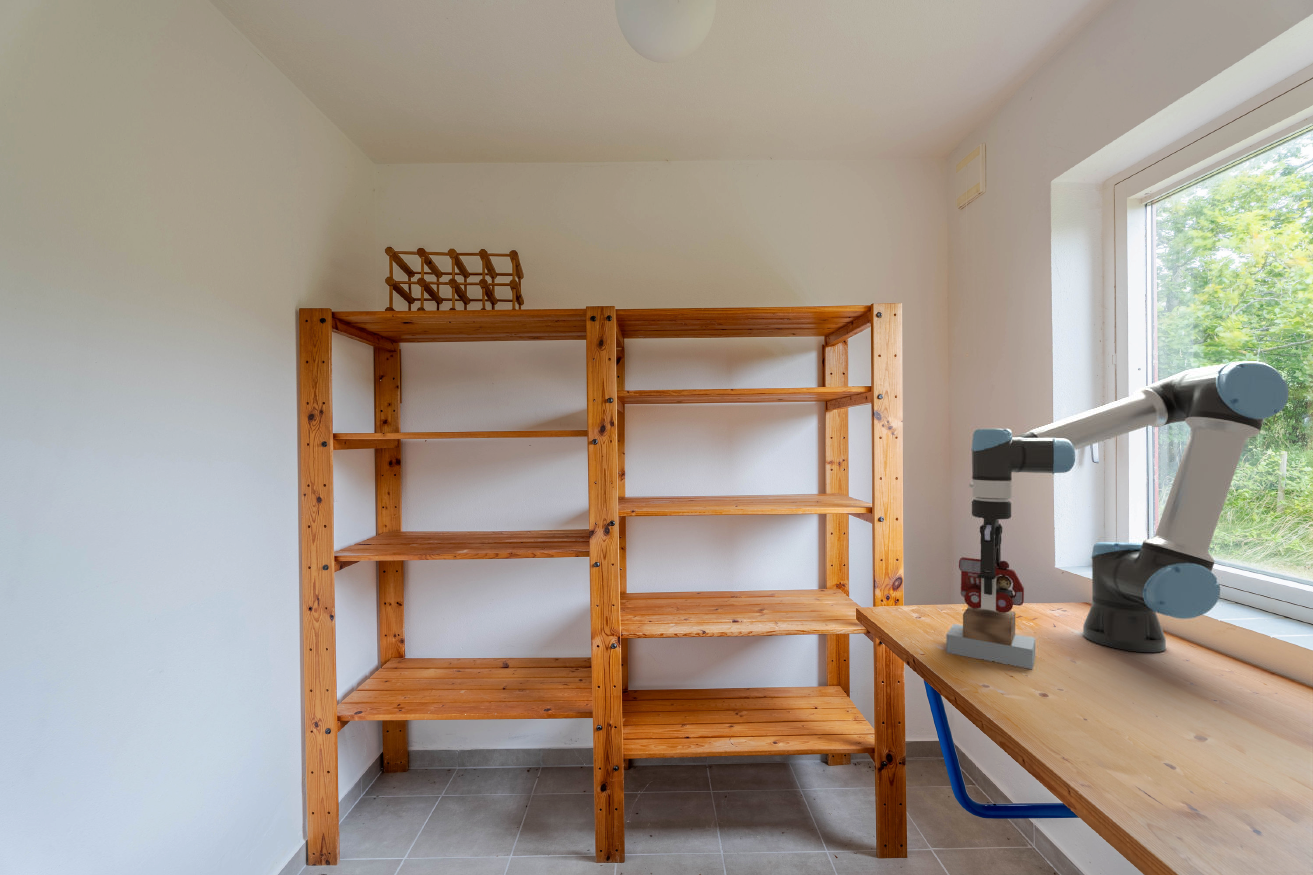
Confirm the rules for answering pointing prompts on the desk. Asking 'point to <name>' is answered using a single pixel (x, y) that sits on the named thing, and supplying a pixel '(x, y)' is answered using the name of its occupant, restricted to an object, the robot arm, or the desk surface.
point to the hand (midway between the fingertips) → (990, 604)
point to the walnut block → (989, 625)
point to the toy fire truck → (1003, 593)
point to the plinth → (992, 648)
